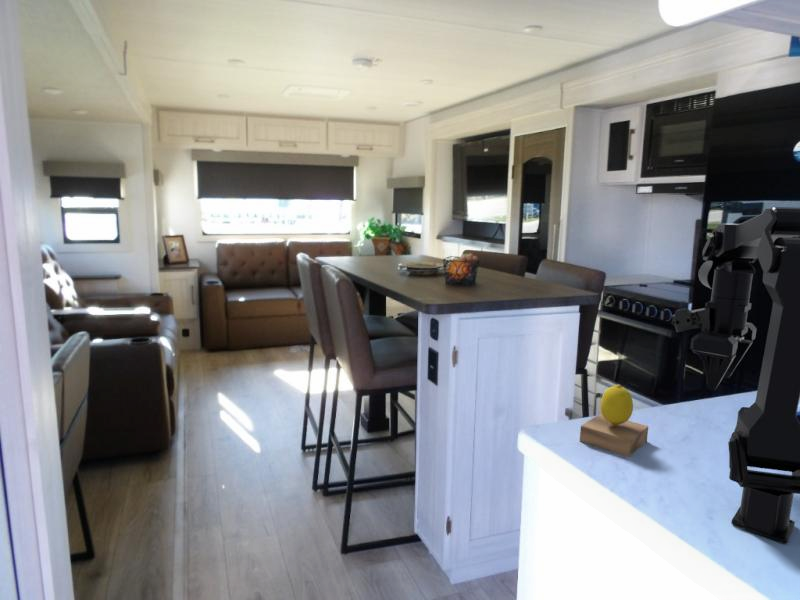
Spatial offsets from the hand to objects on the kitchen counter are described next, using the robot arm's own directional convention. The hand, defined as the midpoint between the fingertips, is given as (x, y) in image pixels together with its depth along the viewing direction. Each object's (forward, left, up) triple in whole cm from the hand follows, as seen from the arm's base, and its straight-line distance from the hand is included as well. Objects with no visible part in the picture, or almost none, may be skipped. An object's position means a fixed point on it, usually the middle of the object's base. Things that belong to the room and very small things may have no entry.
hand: (718, 383), depth 99 cm
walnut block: (-10, +14, -12) cm, 21 cm away
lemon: (-10, +14, -10) cm, 19 cm away
